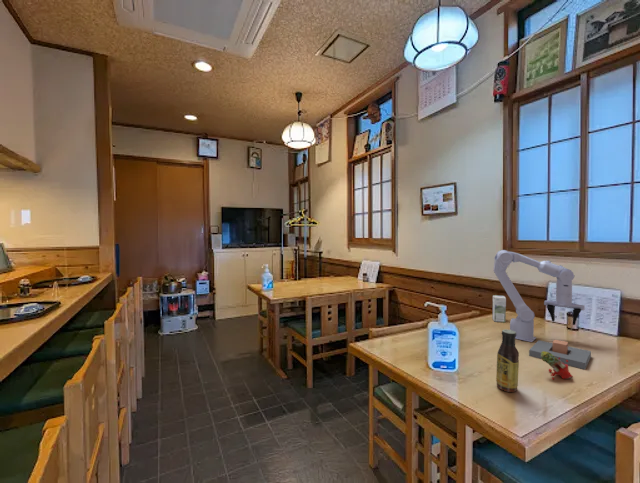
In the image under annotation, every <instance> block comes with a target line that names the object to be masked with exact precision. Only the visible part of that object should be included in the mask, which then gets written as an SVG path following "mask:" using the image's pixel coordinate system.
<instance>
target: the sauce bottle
mask: <svg viewBox="0 0 640 483" xmlns="http://www.w3.org/2000/svg"><path fill="white" fill-rule="evenodd" d="M501 335H502V336H501V337H502V338H501V343H500V346H499V348H498V351H497V353H496V354H497V355H496V378H495V381H496V386H497V388H498V389H499V390H502V391H503V390H504V392H506V393H507V392H508V393H515V392H517V391H518V386H519V367H520V362H519V357H520V355H519V354H520V352H519V351H518V349H517V347H516V339H515V337H516V332H515V331H512V330H510V329H508V328H507V329H506V328H505V329H502V331H501Z"/></svg>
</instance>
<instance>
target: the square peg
mask: <svg viewBox="0 0 640 483" xmlns="http://www.w3.org/2000/svg"><path fill="white" fill-rule="evenodd" d="M552 343H553V349H552V352H557V353H561V354H566V355H568V346H569V342H568V341H564V340H560V339H559V340H558V339H554V340H553V341H552Z"/></svg>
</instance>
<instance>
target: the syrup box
mask: <svg viewBox="0 0 640 483" xmlns="http://www.w3.org/2000/svg"><path fill="white" fill-rule="evenodd" d="M506 307H507V298H506V296H505V295H497V294H495V295H494V294H493V295H492V320H493V321H494V322H496V323H506V318H507V317H506V309H507V308H506Z"/></svg>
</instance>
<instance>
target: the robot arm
mask: <svg viewBox="0 0 640 483" xmlns="http://www.w3.org/2000/svg"><path fill="white" fill-rule="evenodd" d="M493 259H494V260H493V261H494V262H493V273H494V274H495V276H496V277H497V279H498V281H499V282H500V284H501V286H502V288H503V289H504V291H505V292H506V294H507V296H508V297H509V300H511V302H512V304H513V306H514V308H515V312H516V315H517V316H516V317H515V318H514V317H512V318H511V319H510V323H509V330H512V331H515V332H516V337H515V340H521V341H525V342H529V343H532V342H534V341H535V340H536V339H537V337H536V336H534V335H535V332H534V331H535V330H534V327H535V326H534V324H535V323H534V322H535V316H536V315H535V312H534V311H533V310H531V308H530V307H529V306H528V305H527V304H526V303H525V301H524V299H523V297H522V296H521V295H520V292H518V290H517V288H516V287H515V285H514V284H513V281H512V280H511V278H510V277H509V275H508V274H507V272H506V271H507V268H508V267H509V265H510V264H511V263H523V264H526V265H529V266H531V267H534V268H537V270H538V272H540V273H542V274H544V275H548V276H550V277H553V278H556V283H555V286H556V287H555V288H556V290H555V291H556V292H555V300H544V302H543V305H544V306H546V309H547V310H548V313H549V315H550V318H551V322H552V323H553V322H555V321H556V318H555V311H556V307H557V308H558V307H560V308H567V309H572V325H573V326H575V325H576V322H577V319H578V316H580V315H579V314H580V313H581V311H585V305H583V304H577V303H573V301H572V300H573V280H574V278H575V275H574V272H573V271H572V269H569V268H567V267H564V266H563V265H561V264H560V265H558V264H556V263H552V261H550V260H542V261H538V260H536V259H534V258H531V257H529V256H526V255H523V254H521V253H518V252H515V251H509V250H506V249H501V250H498V251H497V252H496V253H495V256H494V258H493Z"/></svg>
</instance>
